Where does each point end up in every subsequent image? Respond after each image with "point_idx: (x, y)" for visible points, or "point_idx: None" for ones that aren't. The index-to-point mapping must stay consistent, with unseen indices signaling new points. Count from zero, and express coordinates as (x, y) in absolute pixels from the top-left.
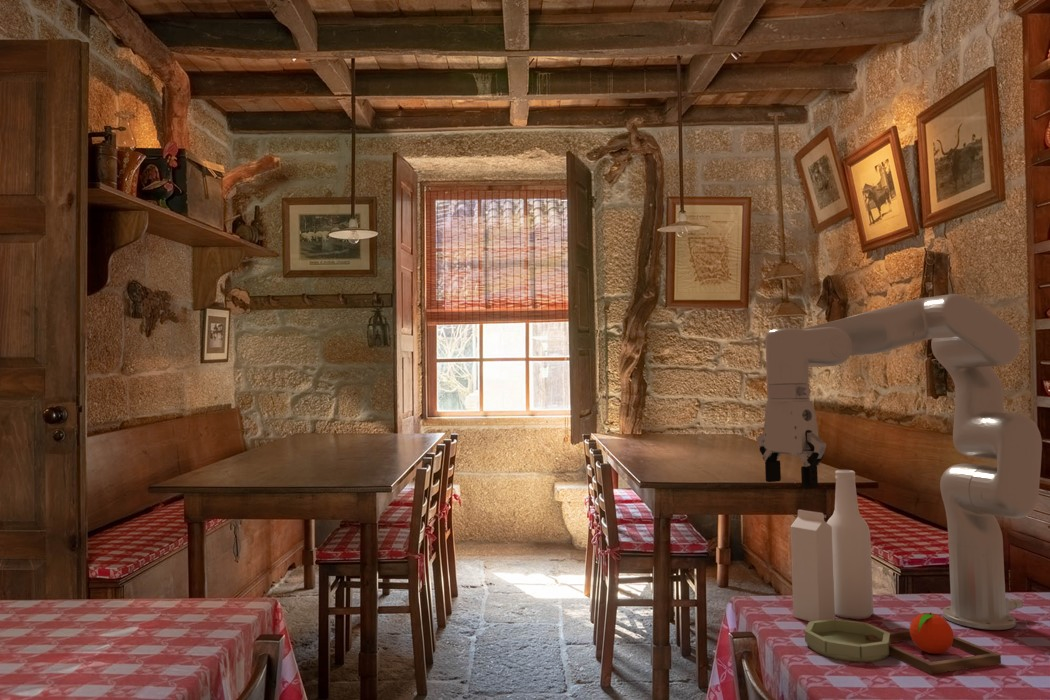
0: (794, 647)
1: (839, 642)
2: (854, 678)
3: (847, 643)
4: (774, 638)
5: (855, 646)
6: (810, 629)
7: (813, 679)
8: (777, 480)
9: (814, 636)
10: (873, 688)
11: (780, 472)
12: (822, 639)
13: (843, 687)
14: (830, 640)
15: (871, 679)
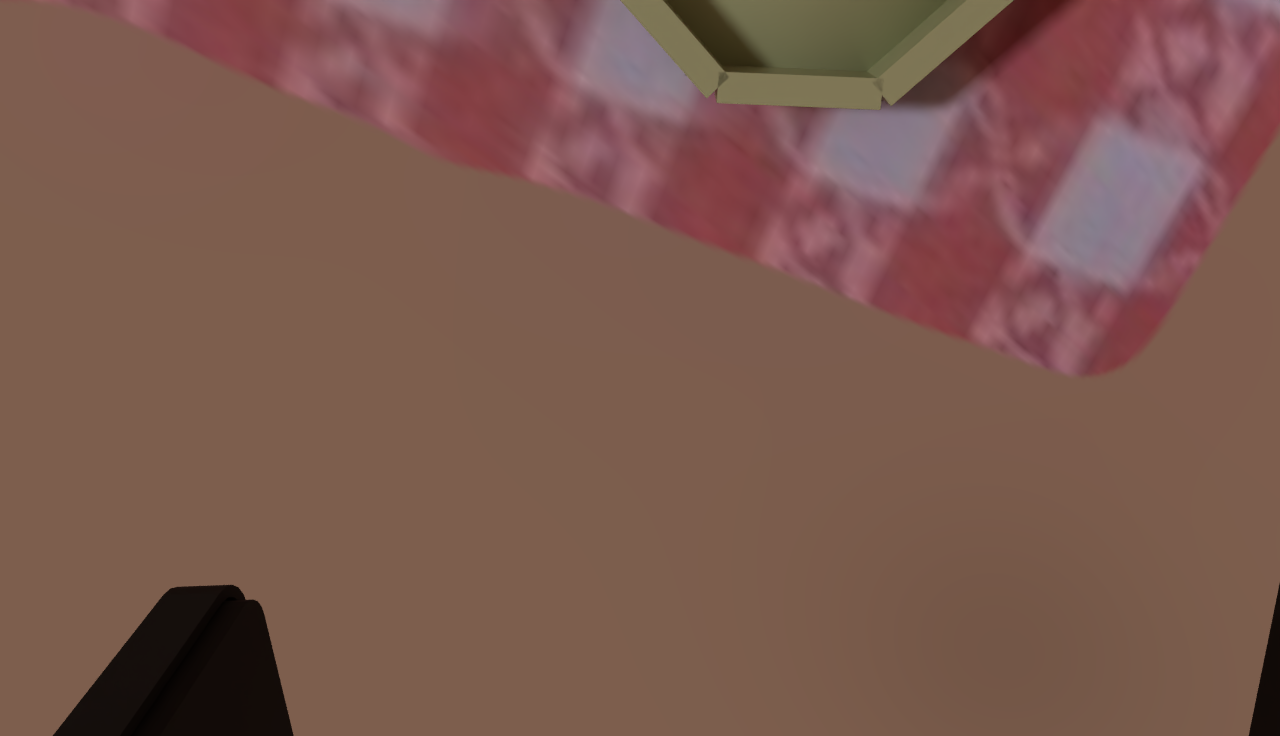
0: (700, 152)
1: (932, 47)
2: (1115, 150)
3: (961, 15)
4: (559, 165)
5: (1009, 2)
6: (704, 54)
7: (1033, 321)
8: (271, 667)
9: (795, 105)
10: (1232, 151)
11: (184, 716)
12: (857, 103)
13: (1155, 262)
14: (886, 71)
15: (1163, 84)
